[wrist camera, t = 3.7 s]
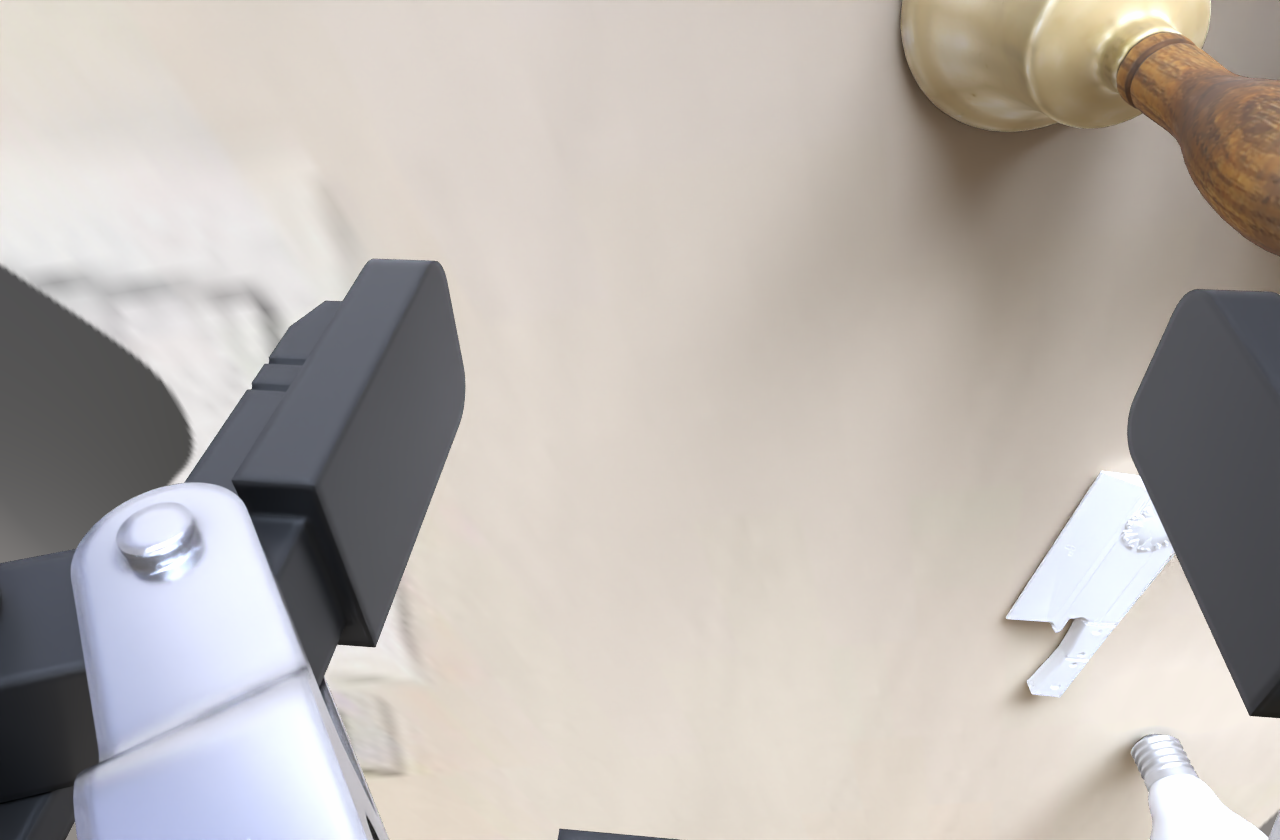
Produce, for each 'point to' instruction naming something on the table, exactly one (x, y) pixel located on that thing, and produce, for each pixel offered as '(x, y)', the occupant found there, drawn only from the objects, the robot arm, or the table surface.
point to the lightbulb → (1184, 796)
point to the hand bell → (1107, 85)
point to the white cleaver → (1093, 574)
